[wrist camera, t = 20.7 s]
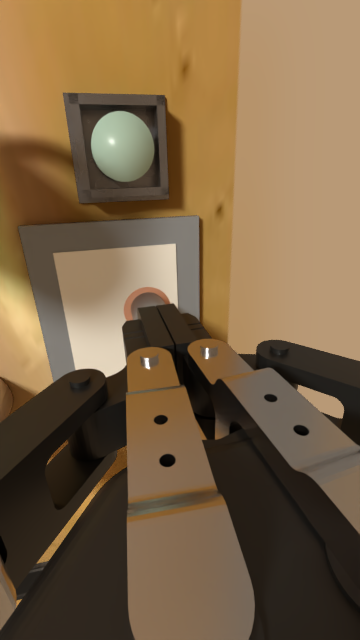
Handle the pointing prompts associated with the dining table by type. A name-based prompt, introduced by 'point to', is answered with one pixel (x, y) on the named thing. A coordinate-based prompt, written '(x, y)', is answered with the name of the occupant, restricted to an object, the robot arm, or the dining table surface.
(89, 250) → the drawing board
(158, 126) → the button housing
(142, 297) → the grey cylindrical piece
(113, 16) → the dining table surface
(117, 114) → the button
